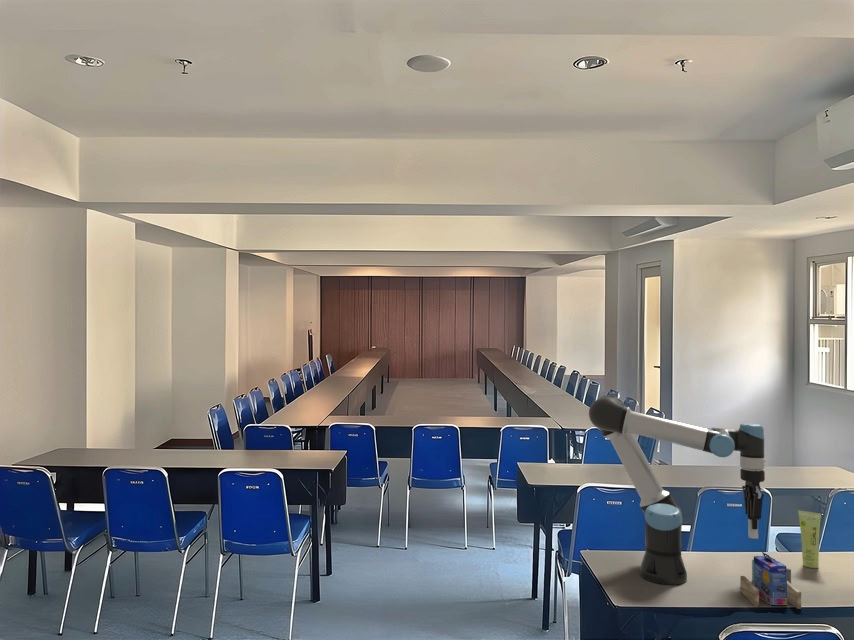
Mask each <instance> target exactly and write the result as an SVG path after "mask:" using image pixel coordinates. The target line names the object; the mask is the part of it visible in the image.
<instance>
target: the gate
mask: <svg viewBox="0 0 854 640" xmlns="http://www.w3.org/2000/svg"><path fill="white" fill-rule="evenodd" d="M751 581H753V582H754V558H752V559H751ZM787 581H788V582H790V583H791V584H792V569H791V568H787Z"/></svg>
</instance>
